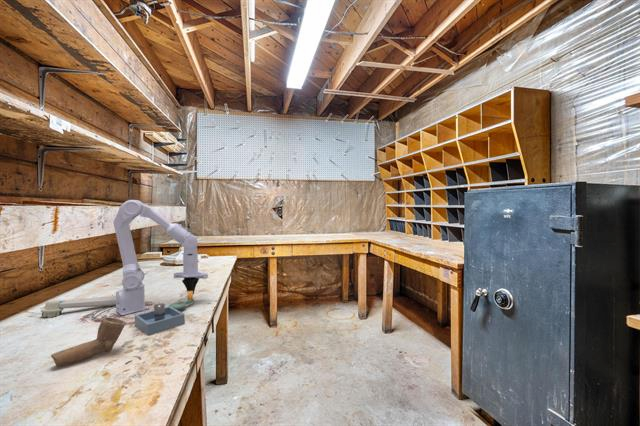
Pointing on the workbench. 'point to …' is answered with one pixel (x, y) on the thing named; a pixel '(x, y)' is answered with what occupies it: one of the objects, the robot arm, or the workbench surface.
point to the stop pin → (159, 312)
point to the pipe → (93, 343)
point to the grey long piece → (75, 304)
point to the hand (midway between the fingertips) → (191, 294)
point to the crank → (183, 304)
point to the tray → (151, 327)
